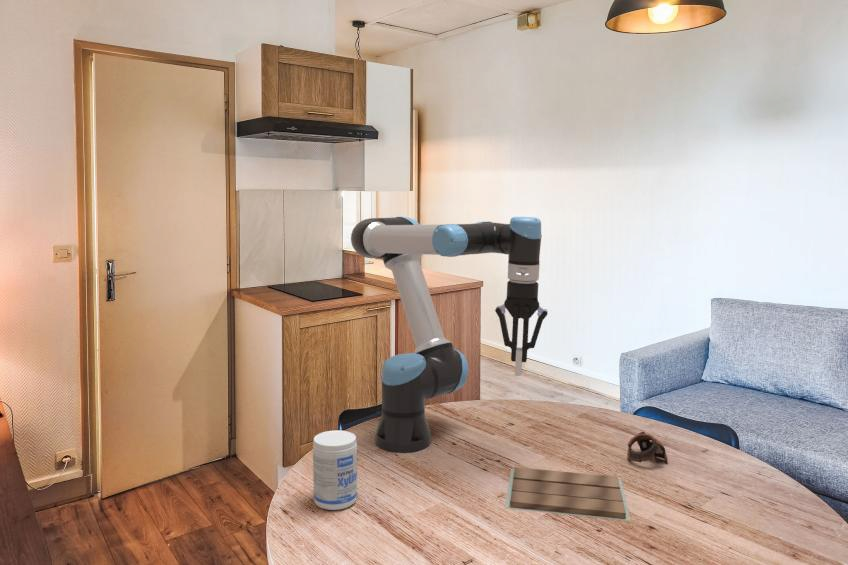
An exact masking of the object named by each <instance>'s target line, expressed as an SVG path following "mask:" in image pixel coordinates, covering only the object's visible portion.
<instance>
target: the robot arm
mask: <svg viewBox="0 0 848 565" xmlns="http://www.w3.org/2000/svg"><path fill="white" fill-rule="evenodd" d="M542 236H543V235H542V221H541V219H540V218H539V217H533V216H513V217H512V216H511V218H510V221H509V223H500V222H493V221H478V222H476V223H452V224H451V223H449V224H448V223H447V224H420V223H419V222H418V221H417V220H415V219H414V218H410V217H404V216H395V217H371V218H365V219H363V220H361V221H359V222H358V223H357V224H356V225H355V226H354V227H353V229H352V230H351V233H350V243H351V246H352V248H353V250H354V252H356V254H358V255H359V256H361V257H363V258H367V259H382V261H383V264H384V267H385V268H386V269H388V270H390V271H391V273H392V276H393V278H394V282H395V284H396V285H395V286H396V288H397V291H398V293H399V297H400V301H401V304H402V307H403V310H404V313H405V316H406V319H407V322H408V326H409V329H410V332H411V335H412V338H413V341H414V343H415V350H414V352H408V353H400V354H395V355H393V356H390V357H389V358H387V359H386V360H385V361H384V362H383V364H382V368H381V369H382V370H381V379H380V380H381V416H380V419H379V422H378V425H377V427H376V431H375V444H376V446H378V447H379V448H381V449H382V450H386V451H389V452H396V453H407V452H408V453H411V452H416V451H420V450H424V449H425V448H427V447H428V446H430V444H431V443H432V433H431V432H432V431H431V430H430V426H429V422H428V420H427V417H426V415H425V414H426V412H425V410H426V409H425V408H426V401H427V400H429V399H433V398H435V397H436V398H437V397H441V396H445V395H448V394H452V393H453V392H456V391H459V390H460V389H462V388H463V387H464V386H465V384H466V382H467V379H468V376H469V363H468V360H467V359H466V358H467V357H466V356H465V354H464V353H461V351H460V350H457V349H455V348H454V346H453V342H452V341H451V340H449V339H447V338H445V336H444V335H445V334H444V332H443V328H442V327H441V326H442V325H441V323H440V320H439V317H438V313H437V312H436V308H435V306H434V302H433V299H432V296H431V293H430V289H429V286H428V284H427V281H426V277H425V275H424V272H423V269H422V265H421V263H420V262H421V260H422V257H423V255H431V256H433V255H436V256H438V255H439V256H441V257H446V258H448V257H449V258H450V257H451V258H453V257H459V256H467V255H481V254H501V255H502V254H504V255H508V258H507V259H508V263H507V264H508V266H507V279H508V281H507V282H506V283H507V284H506V298H505V299H504V303H503V304H501V305H499V306H496V308H495V310H494V312H495V313H496V315H497V316H498V319H499V324H500V330H501V333H502V340H503V344H504V346H505V347H509V348H510V350H511V352H510V356H511V357H510V359H511V362H514V363H515V365H514V366H515V368H514V376H518V377H521V376H522V373H523V371H522V370H523V363H527V361H528V360H527V359H528V350H530V349H535V346H536V343H537V340H538V337H539V333H540V330H541V327H542V324H543V321H544V319H545V318H546V317H547V316H548V309H546V308H545V309H544V308H543V307H542V306H540V301H539V299H538V298H539V283H538V282H537V281H539V280H540V265H541V264H540V255H541V246H542ZM506 311H507V312H508V313H509V315H510V316H511V317H512V332H511V340H510V334H509V330H508V325H507V324H508V323H507V320H506V315H505V314H506ZM536 312H537V313H536ZM535 313H536V314H537V320H536V324H535V326H534V329H533V333H532V335H531V340H530V342H529V328H530V327H529V326H530V324H529V323H530V318H532V317H533V315H534V314H535ZM519 319H522V320H523V323H522V326H523V328H522V344H521V345H522V346H521V347H518V338H519V336H518V332H519Z"/></svg>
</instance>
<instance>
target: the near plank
mask: <svg viewBox="0 0 848 565" xmlns="http://www.w3.org/2000/svg"><path fill="white" fill-rule="evenodd" d="M512 491H518V492H528V493H539V494H549V495H559V496H569V497H579V498H590V499H600V500H610V501H620V502H623V498H622V494H621V490H620V489H614V488H603V487H593V486H582V485H571V484H561V483H550V482H540V481H529V480H518V479H513V485H512Z"/></svg>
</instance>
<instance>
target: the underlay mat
mask: <svg viewBox="0 0 848 565" xmlns="http://www.w3.org/2000/svg"><path fill="white" fill-rule="evenodd" d="M514 470H515V469H510V472H509V474H510V475H509V480H508V487H507V488H508V489H507V492H506V494H507V495H506V500H505V509H513V510H521V511H530V512H539V513H548V514H549V513H550V514H558V515H568V516H579V517H586V518H596V519H597V518H598V519H607V520H616V521H626V522H627V521H628V522H631V521H632V520H631V517H630V512H629V507H628V504H627V500H626V495H625V492H624V491H625V490H624V487H623V482H622V481H623V480H622V479H620V478H618V481H619V485H620V490H621V494H622V498H623V503H624V507H625V512H626V518H616V517H606V516H596V515H587V514H577V513H567V512H557V511H548V510H538V509H528V508H518V507H510V500H511V492H512V485H513V478H514Z"/></svg>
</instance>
